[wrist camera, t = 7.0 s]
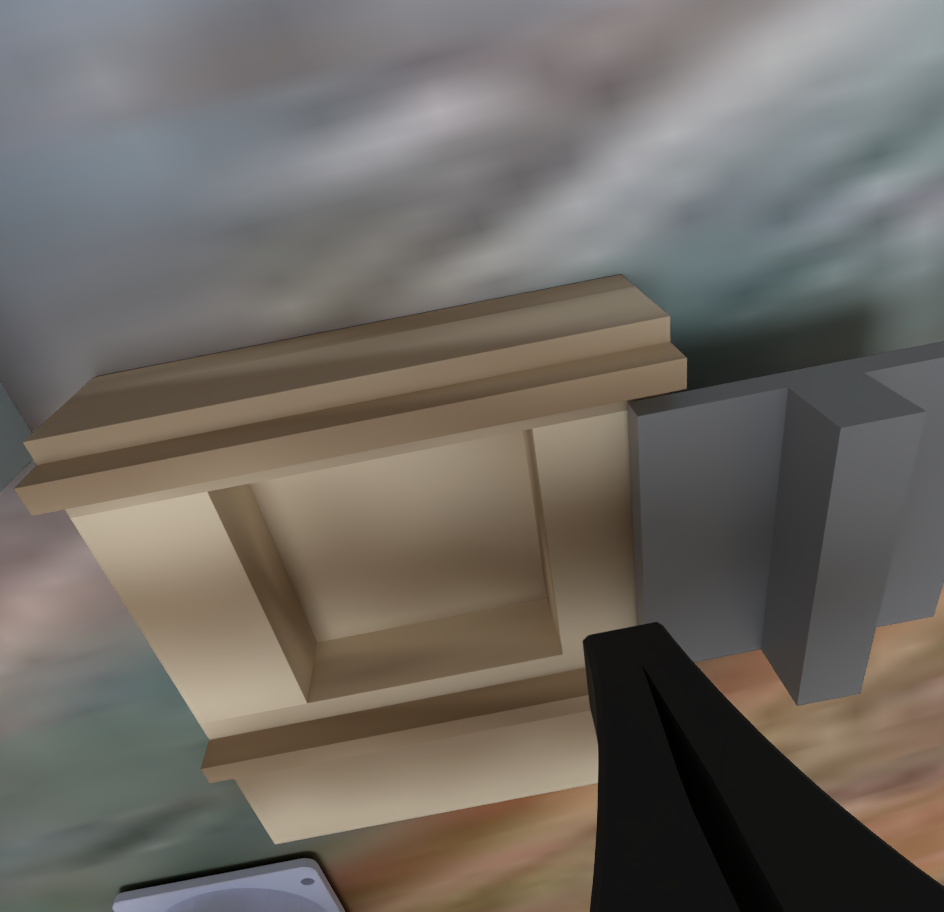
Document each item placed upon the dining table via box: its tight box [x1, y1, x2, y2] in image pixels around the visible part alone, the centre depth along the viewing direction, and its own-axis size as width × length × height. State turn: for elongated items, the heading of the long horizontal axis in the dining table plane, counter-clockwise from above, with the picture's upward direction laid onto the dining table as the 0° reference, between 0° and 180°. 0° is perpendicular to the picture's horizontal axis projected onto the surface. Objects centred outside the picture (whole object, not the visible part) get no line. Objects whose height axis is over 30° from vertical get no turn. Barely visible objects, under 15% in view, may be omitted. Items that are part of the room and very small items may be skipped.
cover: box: [628, 341, 944, 706], centre depth 13 cm, size 7×7×2 cm
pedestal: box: [14, 274, 687, 844], centre depth 16 cm, size 14×12×4 cm
